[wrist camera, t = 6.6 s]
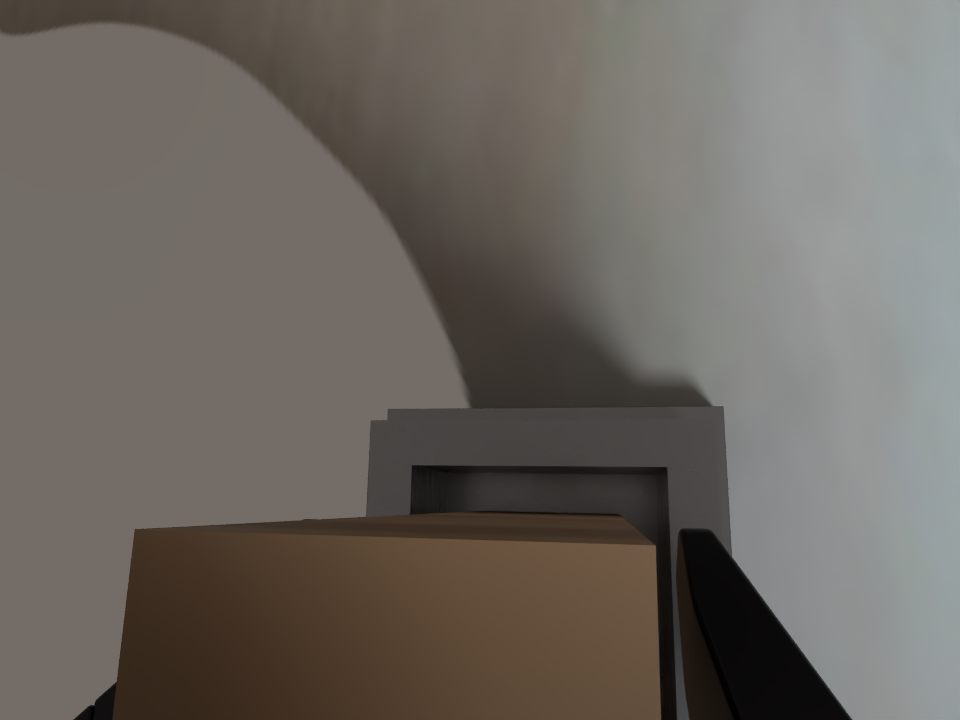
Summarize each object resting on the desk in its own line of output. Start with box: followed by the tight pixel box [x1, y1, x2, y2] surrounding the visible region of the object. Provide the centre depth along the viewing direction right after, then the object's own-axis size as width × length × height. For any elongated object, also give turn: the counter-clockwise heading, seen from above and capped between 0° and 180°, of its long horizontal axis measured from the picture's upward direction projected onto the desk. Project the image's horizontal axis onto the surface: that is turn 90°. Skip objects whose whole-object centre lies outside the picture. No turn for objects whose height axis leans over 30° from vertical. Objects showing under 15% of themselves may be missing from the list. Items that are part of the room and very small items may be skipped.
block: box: [112, 511, 661, 720], centre depth 11 cm, size 4×4×14 cm
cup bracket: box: [366, 406, 732, 720], centre depth 16 cm, size 9×9×4 cm
